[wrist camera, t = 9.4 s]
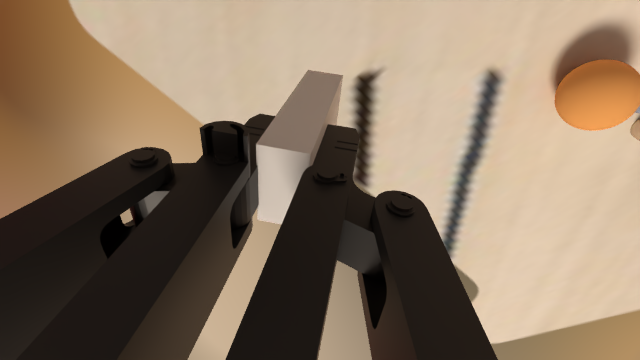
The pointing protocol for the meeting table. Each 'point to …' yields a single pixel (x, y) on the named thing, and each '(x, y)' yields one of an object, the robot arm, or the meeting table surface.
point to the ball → (598, 95)
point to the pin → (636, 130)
